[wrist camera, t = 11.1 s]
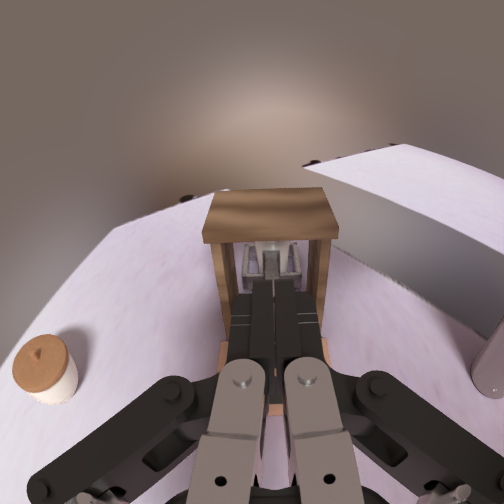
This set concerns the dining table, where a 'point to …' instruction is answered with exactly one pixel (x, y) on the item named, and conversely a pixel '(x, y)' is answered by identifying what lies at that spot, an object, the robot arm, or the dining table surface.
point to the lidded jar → (46, 370)
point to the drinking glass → (273, 245)
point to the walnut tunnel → (270, 234)
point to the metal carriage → (270, 269)
